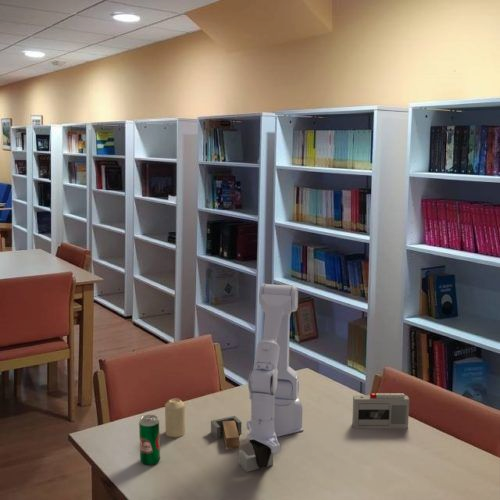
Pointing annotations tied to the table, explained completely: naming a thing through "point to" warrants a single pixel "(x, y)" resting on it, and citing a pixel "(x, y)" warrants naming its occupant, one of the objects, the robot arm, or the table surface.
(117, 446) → the table surface
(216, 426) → the fixed cap
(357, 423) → the cassette player
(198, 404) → the table surface
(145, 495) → the table surface
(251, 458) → the cap
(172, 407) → the candle
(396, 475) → the table surface
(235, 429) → the brown wooden block
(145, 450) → the soda can
